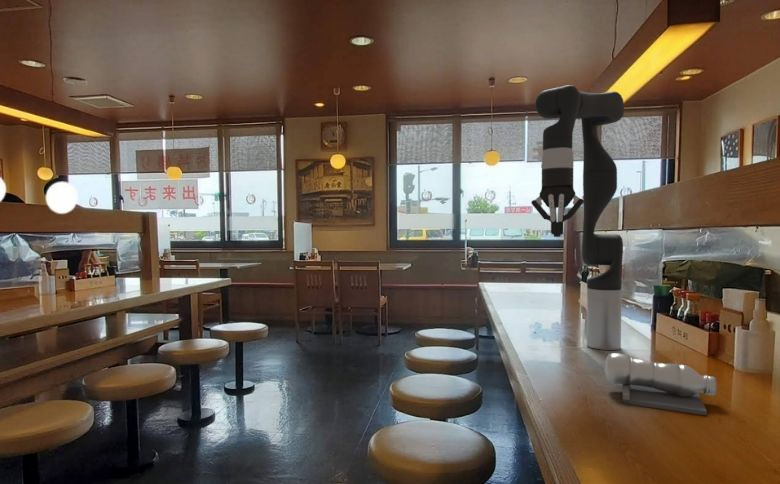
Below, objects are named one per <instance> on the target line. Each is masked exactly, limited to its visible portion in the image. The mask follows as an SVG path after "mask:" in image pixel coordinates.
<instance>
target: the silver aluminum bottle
mask: <svg viewBox="0 0 780 484" xmlns="http://www.w3.org/2000/svg"><path fill="white" fill-rule="evenodd" d="M603 370H604V375H605V378H606V380H607V381H608V382H610V383H611V384H615V385H622V386H623V385H627V384H629V385H637V386H645V387H649V388H654V389H658V390H662V391H665V392H668V393H671V394H674V395H677V396H681V397H689V396H692V395H695V394H697V393H699V394H700V393H702V395H709V396H716V393H717V390H718V389H717V387H718V386H717V385H718V383H717V378H716V377H715V376H712V375H711V376H709V375H707V374H703V375H700V374H699V373H698V371H696V370H694V369H693V368H692V367H690V366H689V365H686V364H681V363H680V364H679V363H678V364H677V363H663V362H656V361H655V362H653V361H648V360H644V359H641V358H638V357H637V358H636V357H633V356H632V357H631V356H629V355H627V354H625V353H624V354H623V353H621V352H611V353H609V354H607V356H606V358H605V361H604V366H603Z"/></svg>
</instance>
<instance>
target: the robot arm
mask: <svg viewBox="0 0 780 484" xmlns="http://www.w3.org/2000/svg"><path fill="white" fill-rule="evenodd" d="M534 104H535V105H534V106H535V110H536V112H537V114H538V115H539V116H540V117H541V118H544V119H551V120H552V119H558V121H557V122H556V123H553V124H551V125H549V126H547V127H546V128H545V129H544V130H543V132H542V157H541V164H540V165H541V190H540V192H539V195H538V197H537V198H535V199H533V200H531V202H530V203H531V204H532V206H533V208H534V209H535V210H536V211H537V212H538V214H539V215H540V216H541V217H542V219H544V220H547V221H549V222H550V234H551V235H553V237H554V238H555V237H556V238H560V237H561V236H562V235H564V222H565V221H568V220H570V219H572V217H573V216H574V215H575V214H576V213H577V211H578V210H579V209H580V208H581V207H582V206H583V221H582V223H583V225H582V240H581V256H582V257H581V258H582V261H583V264H585V265H587V266H609V267H608V269H607V270H606V271H604V272H602V273H600V274H597V275H595V276H590V277H589V278H588V279H587V280H586V346H587V347H589V348H592V349H595V350H601V351H602V350H605V351H616V350H621V348H622V277H623V275H622V272H623V271H622V270H623V269H622V268H623V255H624V242H623V238H622V236H621V235H620V234H616V233H595V228H596V225H597V222H598V220H599V219H600V216H601V215H602V213H604V210H605V209H606V207H607V206H608V205H609V203H610V202H611V201H612V199H613V198H614V195H616V192H617V189H618V168H617V164H616V162H615V161H614V160H613V158H612V156H611V155H610V154H609V152H607V150H606V149H605V148H604V146H603V145H602V143H601V141H600V139H599V136H598V127H599V126H605V125H611V124H614V123H617V122H618V121H620V120H621V119H622V118H623V117H624V115H625V114H624V113H625V103H624V98H623V97H622V95H621V94H620V93H619V92H617V91H613V90H612V91H605V92H602V93H595V92H594V93H592V92H591V93H590V92H585V91H580V90H579V89H578V88H577V87H576V86H575V85H572V84H569V85H563V86H558V87H555V88H549V89H545V90H543V91H541V92H540V93H539V94H538V95H537V97H536V98H535V103H534ZM578 119H581V129H582V132H581V133H582V144H583V146H582V147H583V168H582V170H583V171H582V190H583V191H582V193H583V195H582V196H583V199H582V198H580V197H579V196H578V195H576V191H575V189H574V152H573V151H574V150H573V139H574V138H573V134H574V128H575V125H576V120H578ZM542 201H543V202H542ZM571 202H572V204H573V206H571V208H570V210H569V211H568V212H567V213H566V214H565V211H566V208H567V207H568V206H569V204H570V203H571ZM543 203H544V204H545V206H546V207H547V208H548V209H549V214H548V213H547V211H546V210H545V209H544V208H543V207H542V205H543Z"/></svg>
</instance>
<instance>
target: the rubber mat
mask: <svg viewBox="0 0 780 484" xmlns="http://www.w3.org/2000/svg"><path fill="white" fill-rule="evenodd" d="M703 402H704V401H703V400H702V398H701V396H700V392H699V393H697V394H695V395H692V396H689V397H681V396H677V395H674V394H671V393H668V392H665V391H662V390H658V389H654V388H649V387H645V386H637V385H629V384H627V385H623V384H622V404H627V405H634V406H640V407H646V408H652V409H653V408H654V409H660V410H666V411H667V410H668V411H675V412H679V413H680V412H681V413H687V414H693V415H694V414H695V415H701V416H707V415H708V414H707V412H708V411H707V409H706V407H705V404H704V403H703Z"/></svg>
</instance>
